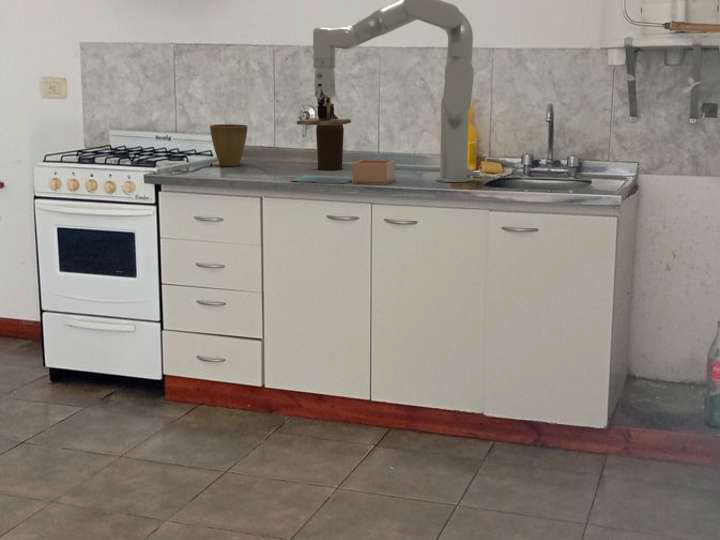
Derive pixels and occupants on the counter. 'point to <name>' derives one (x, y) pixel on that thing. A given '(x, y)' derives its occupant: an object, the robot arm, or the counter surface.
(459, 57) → the robot arm
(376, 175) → the pot
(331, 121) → the lid
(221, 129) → the plant pot
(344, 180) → the mat
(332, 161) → the olive oil
